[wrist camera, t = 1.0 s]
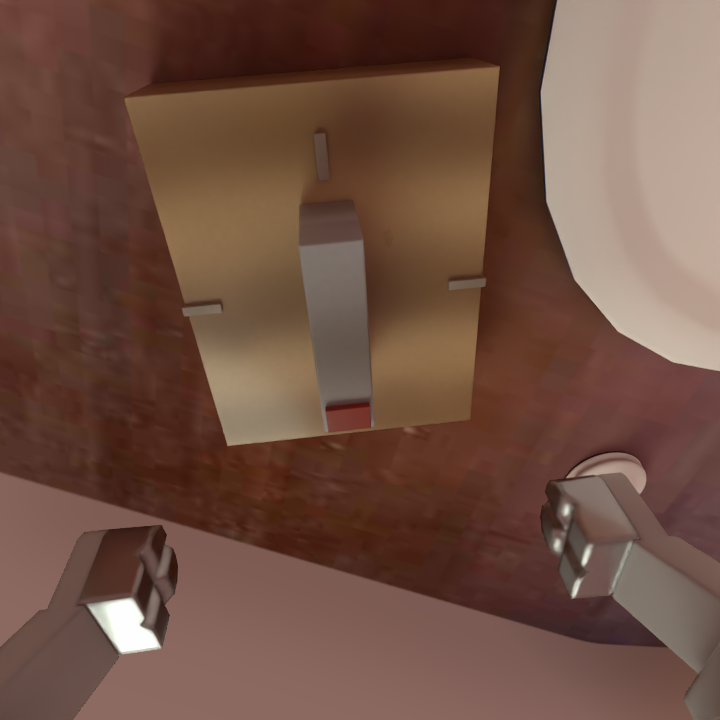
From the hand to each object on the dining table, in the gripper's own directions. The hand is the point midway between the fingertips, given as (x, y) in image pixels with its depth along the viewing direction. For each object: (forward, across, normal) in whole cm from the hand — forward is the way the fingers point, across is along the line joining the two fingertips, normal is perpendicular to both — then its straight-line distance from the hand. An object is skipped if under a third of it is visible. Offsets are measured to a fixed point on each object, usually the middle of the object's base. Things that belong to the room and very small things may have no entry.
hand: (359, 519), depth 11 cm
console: (+13, 0, 0) cm, 13 cm away
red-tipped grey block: (+10, 0, 0) cm, 10 cm away
